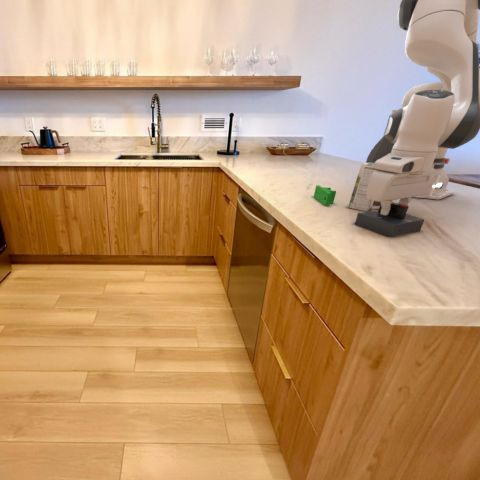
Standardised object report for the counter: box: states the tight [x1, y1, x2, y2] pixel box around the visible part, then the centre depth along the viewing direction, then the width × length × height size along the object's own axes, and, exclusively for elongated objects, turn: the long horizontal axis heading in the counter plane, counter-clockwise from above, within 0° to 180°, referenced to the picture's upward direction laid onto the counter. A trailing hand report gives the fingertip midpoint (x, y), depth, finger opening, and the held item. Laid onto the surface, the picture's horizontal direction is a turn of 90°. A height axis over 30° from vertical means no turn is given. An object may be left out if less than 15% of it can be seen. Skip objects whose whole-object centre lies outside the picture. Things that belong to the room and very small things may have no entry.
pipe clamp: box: [313, 184, 337, 207], centre depth 102 cm, size 11×4×5 cm, turn 173°
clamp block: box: [354, 209, 426, 238], centre depth 79 cm, size 12×10×4 cm
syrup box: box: [347, 162, 377, 212], centre depth 93 cm, size 6×6×14 cm
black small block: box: [377, 201, 409, 220], centre depth 78 cm, size 6×2×4 cm, turn 21°
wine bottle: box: [365, 109, 398, 206], centre depth 96 cm, size 8×8×30 cm
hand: (391, 213), depth 78 cm, fingers open, 4 cm apart
